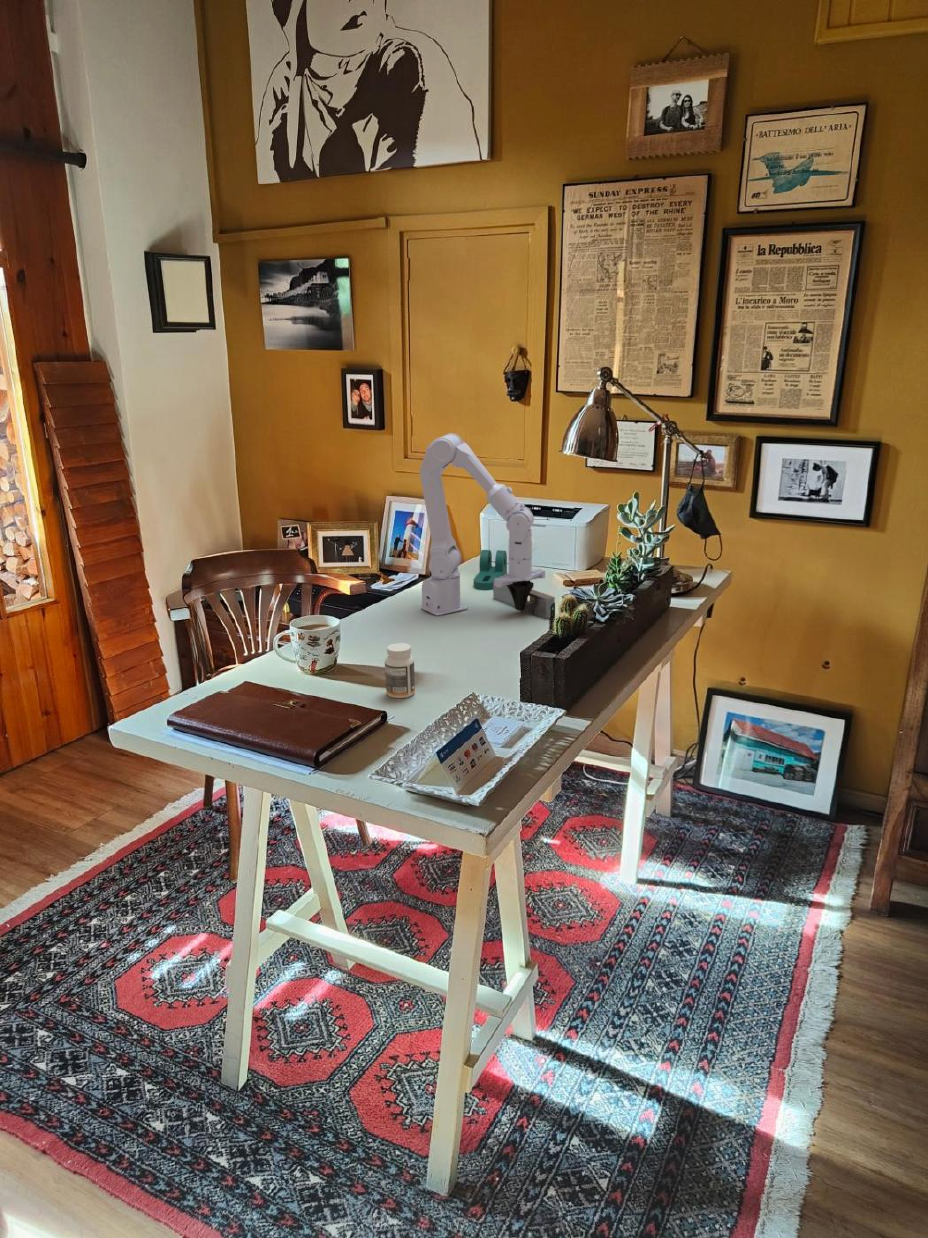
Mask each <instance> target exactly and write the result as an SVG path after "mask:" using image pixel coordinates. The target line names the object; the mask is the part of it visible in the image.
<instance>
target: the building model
mask: <svg viewBox="0 0 928 1238" xmlns="http://www.w3.org/2000/svg"><path fill="white" fill-rule="evenodd" d="M492 591H493V595H492V596H493V597H492V598H493V599H494V600H496V601H499V602H501V603H504V604H506V605H509V606H511V605H513V606H512V607H514V606H515V604H514V600H513V597H512V595H511V592H510V590H509V589H508V587H507V585H505V586H502V587H500V588H499V587H496V586H494V580H493V590H492ZM546 594H547V593H545V594H544V592H540V591H537V590H535V589H532V590H531V591H530V593H529V595H528V597H530V596H531V597H534V598H535V612H534V615H535V616H537V617H540V618H542V619H545V620H547V619H548V620H549V619H550V618H549V616H550V607H551V604H553V603H554V597H555V596H554V597H552V596H553V595H551V596H549V595H550V594H548V595H546ZM528 599H529V598H527V601H529V600H528Z"/></svg>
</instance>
